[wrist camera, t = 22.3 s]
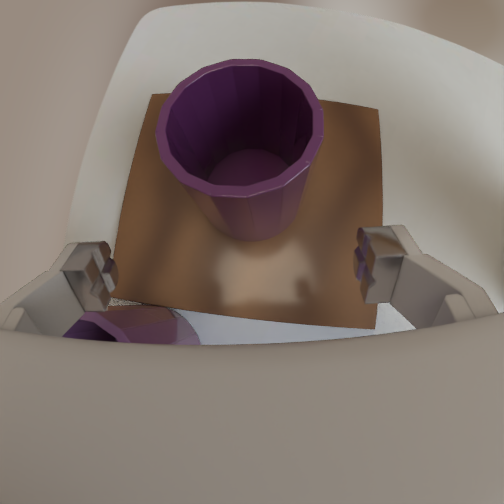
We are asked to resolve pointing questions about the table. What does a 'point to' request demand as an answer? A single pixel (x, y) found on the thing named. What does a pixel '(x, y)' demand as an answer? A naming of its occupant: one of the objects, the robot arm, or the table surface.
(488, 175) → the table surface
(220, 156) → the plum cup
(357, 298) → the placemat
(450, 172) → the table surface
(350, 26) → the table surface
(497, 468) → the robot arm
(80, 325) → the mauve cup
